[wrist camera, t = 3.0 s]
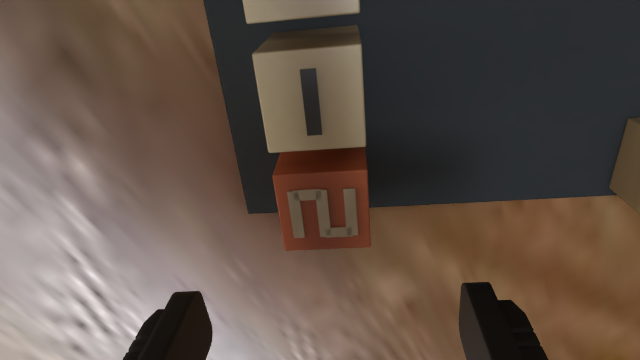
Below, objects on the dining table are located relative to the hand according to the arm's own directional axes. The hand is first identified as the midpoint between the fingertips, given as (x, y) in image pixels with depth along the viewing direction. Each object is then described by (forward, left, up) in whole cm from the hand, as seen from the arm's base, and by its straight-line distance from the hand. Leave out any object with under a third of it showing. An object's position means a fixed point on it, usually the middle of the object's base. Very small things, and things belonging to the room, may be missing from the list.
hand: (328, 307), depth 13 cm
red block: (0, 0, -11) cm, 11 cm away
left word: (0, +7, -11) cm, 13 cm away
